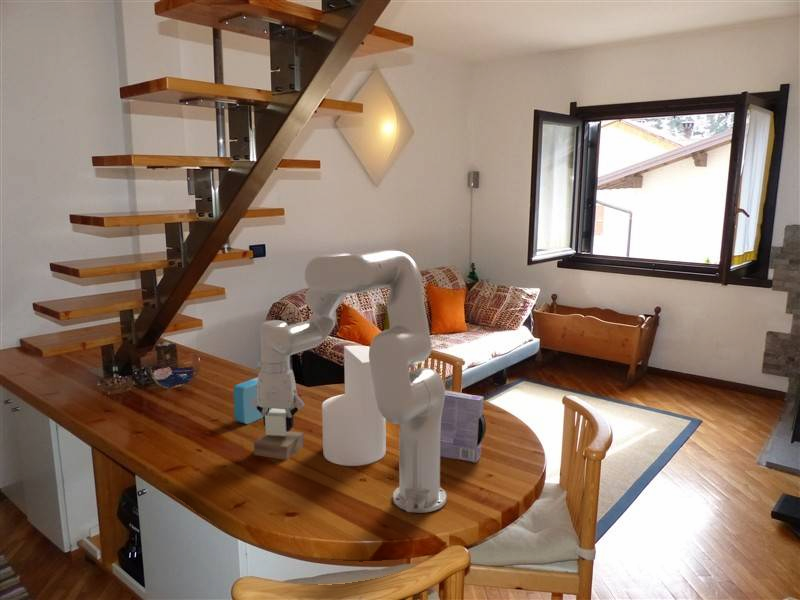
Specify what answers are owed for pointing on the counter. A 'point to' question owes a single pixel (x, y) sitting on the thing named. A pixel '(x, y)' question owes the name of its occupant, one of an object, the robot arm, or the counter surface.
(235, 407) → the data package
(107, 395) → the counter surface
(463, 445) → the cake pan box
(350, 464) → the white bottle-shaped block
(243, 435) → the counter surface
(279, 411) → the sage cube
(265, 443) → the pinkish brown square block
